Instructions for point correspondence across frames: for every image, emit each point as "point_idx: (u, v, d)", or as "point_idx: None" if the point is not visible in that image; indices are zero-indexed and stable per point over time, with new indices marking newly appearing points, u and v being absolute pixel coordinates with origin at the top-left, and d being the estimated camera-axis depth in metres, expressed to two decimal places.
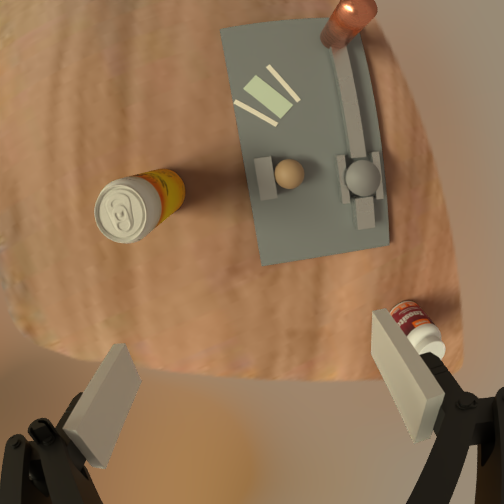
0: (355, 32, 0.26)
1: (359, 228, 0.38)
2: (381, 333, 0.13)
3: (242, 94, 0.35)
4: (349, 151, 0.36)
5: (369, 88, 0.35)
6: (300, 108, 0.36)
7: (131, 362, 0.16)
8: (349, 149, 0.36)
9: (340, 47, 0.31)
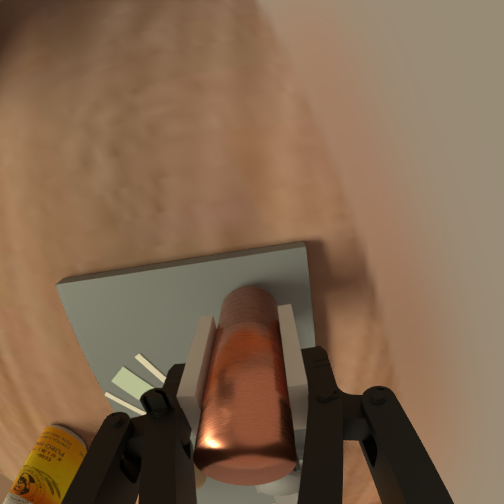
0: None
1: None
2: None
3: (112, 387, 0.23)
4: None
5: None
6: None
7: None
8: None
9: None
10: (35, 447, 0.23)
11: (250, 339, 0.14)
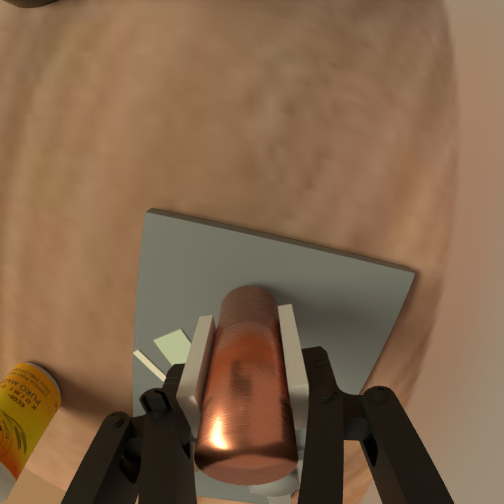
0: None
1: None
2: None
3: (150, 347, 0.21)
4: None
5: (355, 391, 0.23)
6: None
7: None
8: None
9: None
10: (5, 384, 0.20)
11: (251, 339, 0.14)
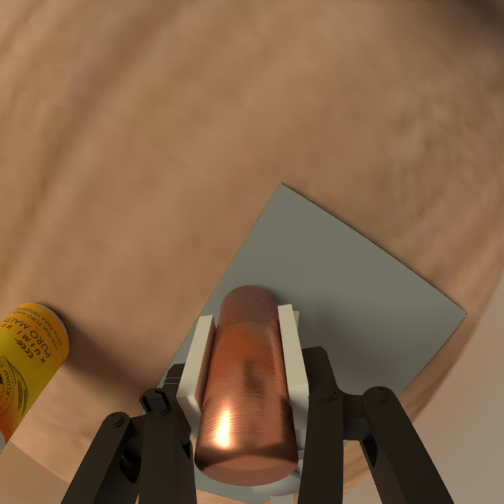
0: None
1: None
2: None
3: None
4: None
5: None
6: None
7: None
8: None
9: None
10: (11, 325, 0.17)
11: (251, 339, 0.14)
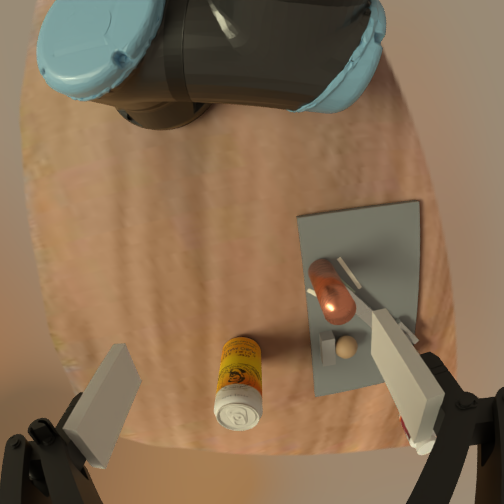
0: None
1: None
2: (381, 333, 0.13)
3: None
4: None
5: (417, 270, 0.44)
6: (360, 293, 0.45)
7: (131, 362, 0.16)
8: None
9: None
10: (230, 352, 0.44)
11: (322, 278, 0.37)
